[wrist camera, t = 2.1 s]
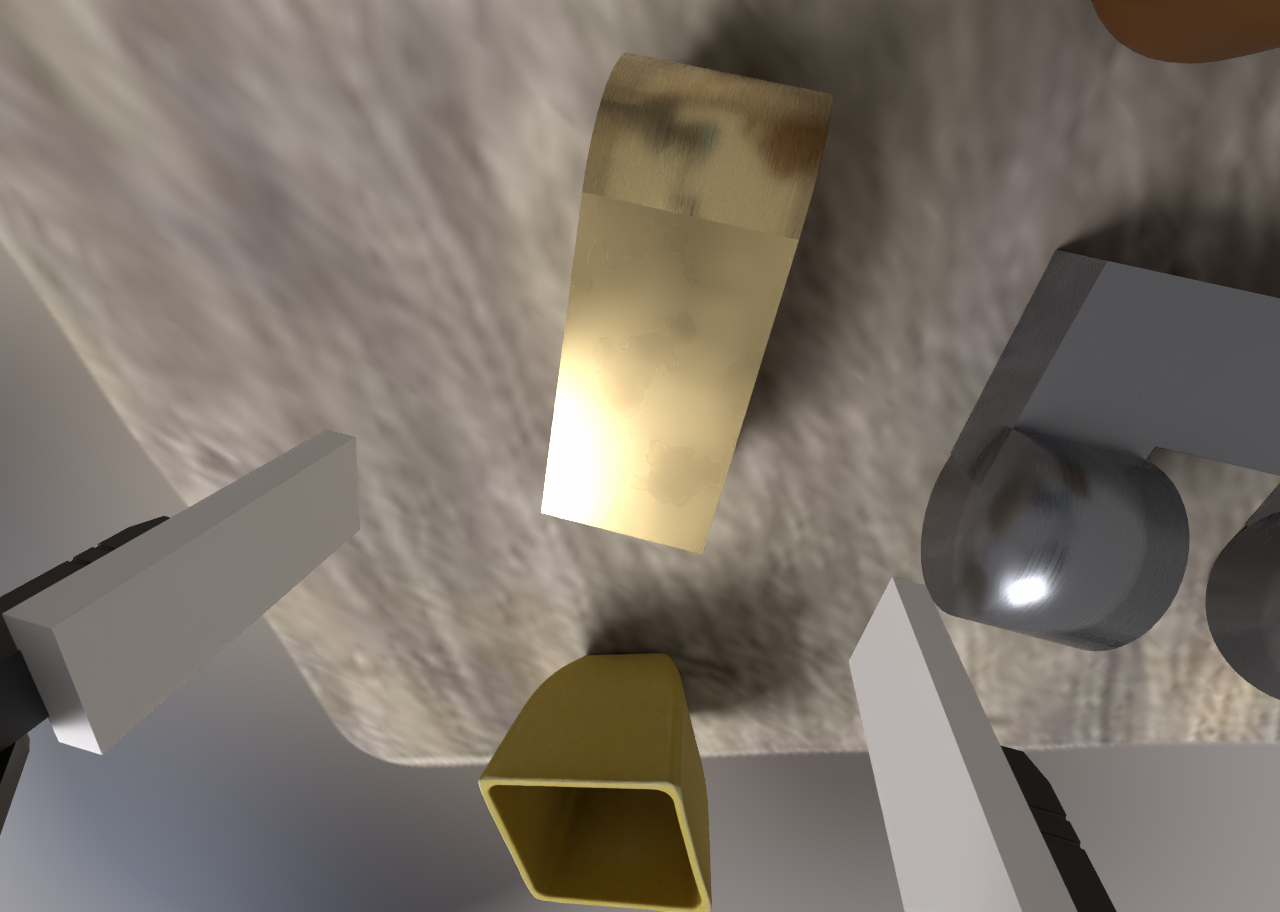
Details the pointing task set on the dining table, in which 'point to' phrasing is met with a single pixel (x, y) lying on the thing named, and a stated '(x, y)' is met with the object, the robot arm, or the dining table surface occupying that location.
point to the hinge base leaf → (1113, 465)
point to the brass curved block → (675, 290)
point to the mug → (1192, 27)
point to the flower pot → (606, 788)
